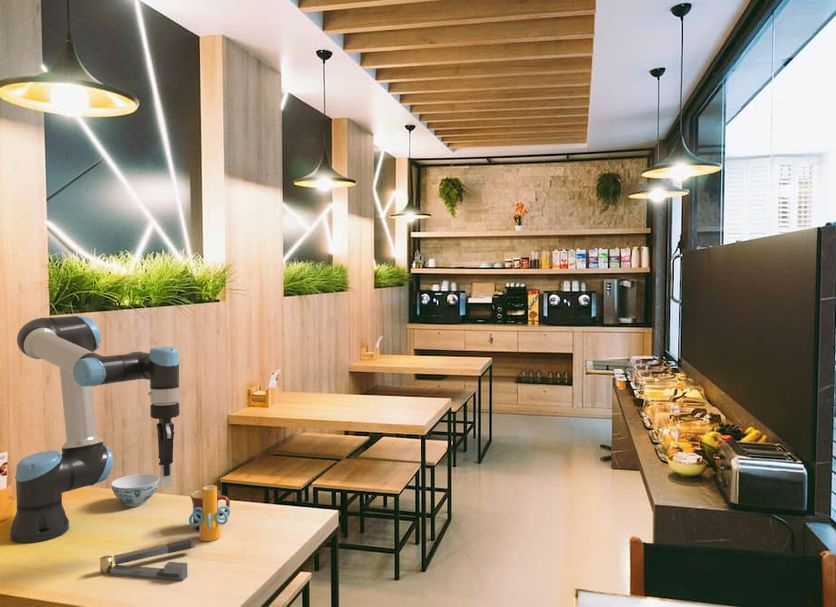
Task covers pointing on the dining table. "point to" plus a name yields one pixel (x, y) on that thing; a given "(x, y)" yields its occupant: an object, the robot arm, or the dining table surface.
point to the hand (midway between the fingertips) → (166, 486)
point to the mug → (198, 502)
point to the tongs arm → (154, 551)
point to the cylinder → (209, 515)
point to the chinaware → (135, 488)
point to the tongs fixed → (144, 570)
